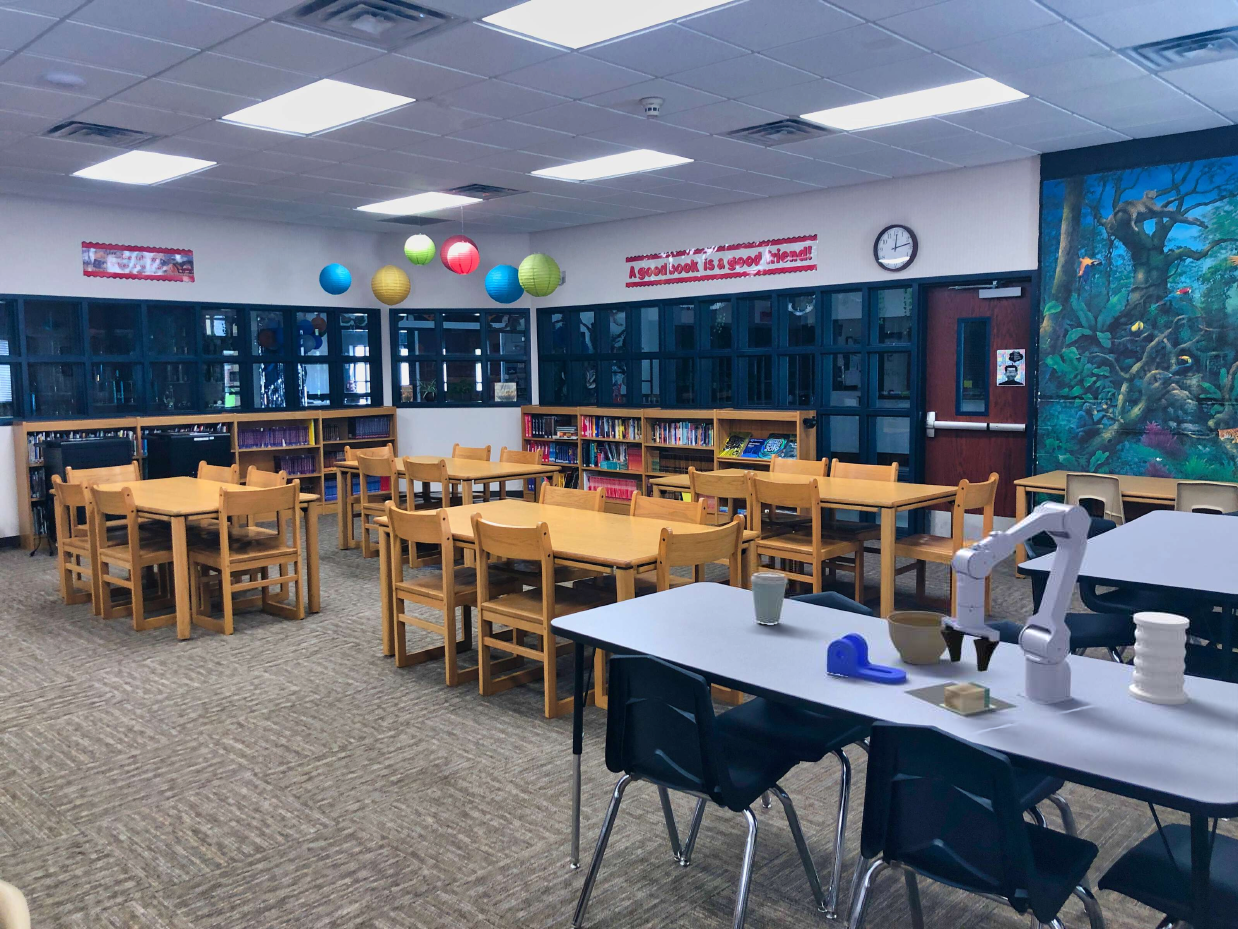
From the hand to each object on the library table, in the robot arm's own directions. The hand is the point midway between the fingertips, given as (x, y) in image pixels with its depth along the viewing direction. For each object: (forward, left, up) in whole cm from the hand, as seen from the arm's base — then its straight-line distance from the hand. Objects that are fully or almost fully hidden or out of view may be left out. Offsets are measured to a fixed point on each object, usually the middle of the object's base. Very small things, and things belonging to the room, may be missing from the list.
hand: (968, 666), depth 209 cm
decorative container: (-43, +14, -10) cm, 47 cm away
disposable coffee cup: (-4, -81, -10) cm, 82 cm away
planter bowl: (-16, -32, -10) cm, 37 cm away
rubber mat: (-2, -5, -9) cm, 11 cm away
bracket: (+4, -28, -10) cm, 30 cm away
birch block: (0, 0, -9) cm, 9 cm away
